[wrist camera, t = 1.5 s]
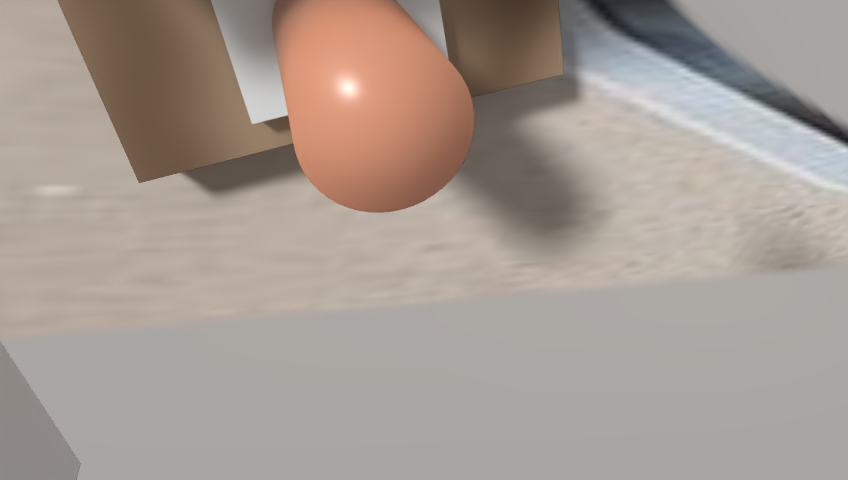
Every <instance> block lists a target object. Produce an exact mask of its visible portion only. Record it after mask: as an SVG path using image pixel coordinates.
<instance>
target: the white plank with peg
mask: <svg viewBox="0 0 848 480" xmlns="http://www.w3.org/2000/svg"><path fill="white" fill-rule="evenodd" d="M211 2H212V5H213V8H214V11H215V14H216V17H217V20H218V23H219V26H220V29H221V32H222V35H223V38H224V41H225V44H226V47H227V50H228V53H229V56H230V59H231V62H232V65H233V68H234V71H235V74H236V77H237V80H238V83H239V87H240V90H241V93H242V96H243V99H244V102H245V105H246V108H247V111H248V114H249V117H250V120H251V123H252V124H255V123H259V122H263V121H267V120H271V119H275V118H279V117H283V116H287V115H288V117H289V123H290V128H291V133H292V139H293V144H294V148H295V153H296V156H297V159H298V161H299V164H300V166H301V168H302V170H303V171H304V173H305V175H306V176H307V178H308V179H309V180H310V182H311V183H312V184H313V185H314V186H315V187H316V188H317V189H318V190H319V191H320V192H321V193H323V194H324V195H325V196H327V197H328V198H329V199H331V200H333V201H335V202H336V203H338V204H341V205H343V206H345V207H348V208H351V209H355V210H359V211H365V212H391V211H397V210H401V209H405V208H408V207H411V206H414V205H416V204H418V203H420V202H423V201H425V200H426V199H428V198H429V197H431V196H433V195H434V194H436V193H437V192H438V191H439V190H441V189H442V188H443V187H444V186H445V185H446V184H447V183H448V182H449V181H450V180H451V179H452V178H453V177H454V175H455V174H456V173H457V172H458V170H459V168H460V167H461V165H462V164H463V162H464V160H465V158H466V156H467V154H468V151H469V148H470V145H471V142H472V138H473V132H474V120H475V119H474V107H473V103H472V98H471V95H470V92H469V90H468V87H467V85H466V83H465V81H464V80H463V78H462V76H461V75H460V73H459V72H458V71H457V69H456V68H455V67H454V66H453V65H452V63H451V62H450V61H449V59H448V53H447V47H446V40H445V34H444V28H443V22H442V15H441V9H440V3H439V0H211Z"/></svg>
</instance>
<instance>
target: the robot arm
mask: <svg viewBox="0 0 848 480" xmlns="http://www.w3.org/2000/svg"><path fill="white" fill-rule="evenodd" d="M79 468H80V462H79V460H78V459H77V457H76V456H75V454H74V453H73V451H72V450H71V448H70V447H69V445H68V444H67V442H66V441H65V439H64V437H63V436H62V434H61V433H60V431H59V430H58V428H57V427H56V426H55V424H54V423H53V421H52V419H51V418H50V416H49V415H48V413H47V411H46V410H45V408H44V407H43V405H42V404H41V402H40V401H39V399H38V398H37V396H36V395H35V393H34V392H33V390H32V389H31V387H30V386H29V384H28V383H27V381H26V380H25V378H24V376H23V375H22V373H21V372H20V370H19V369H18V367H17V366H16V364H15V363H14V361H13V360H12V358H11V357H10V355H9V354H8V353H7V351H6V349H5V347H4V346H3V344H2V343H1V341H0V480H77V476H78V472H79Z"/></svg>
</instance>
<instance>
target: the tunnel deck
mask: <svg viewBox="0 0 848 480" xmlns="http://www.w3.org/2000/svg"><path fill="white" fill-rule="evenodd" d="M58 3H59V5H60V7H61V9H62V12H63V14H64V16H65V18H66V21H67V23H68V25H69V27H70V29H71V32H72V34H73V36H74V38H75V41H76V43H77V45H78V47H79V50H80V52H81V54H82V56H83V59H84V61H85V63H86V65H87V68H88V70H89V72H90V74H91V76H92V79H93V81H94V83H95V85H96V88H97V90H98V92H99V94H100V97H101V99H102V101H103V103H104V106H105V108H106V110H107V112H108V114H109V117H110V119H111V121H112V123H113V126H114V128H115V130H116V132H117V135H118V137H119V139H120V141H121V144H122V146H123V148H124V150H125V153H126V155H127V157H128V159H129V161H130V164H131V166H132V168H133V170H134V173H135V175H136V177H137V179H138V182H139V183H141V182H145V181H149V180H153V179H157V178H161V177H165V176H169V175H173V174H176V173H180V172H184V171H188V170H192V169H196V168H200V167H204V166H207V165H211V164H215V163H219V162H223V161H227V160H231V159H235V158H239V157H242V156H246V155H250V154H254V153H258V152H262V151H266V150H270V149H273V148H277V147H281V146H285V145H289V144H293V139H292V133H291V128H290V123H289V117H288V115H287V116H283V117H279V118H275V119H271V120H267V121H263V122H259V123H255V124H252V123H251V120H250V117H249V114H248V111H247V108H246V105H245V102H244V99H243V96H242V93H241V90H240V87H239V83H238V80H237V77H236V74H235V71H234V68H233V65H232V62H231V59H230V56H229V53H228V50H227V47H226V44H225V41H224V38H223V35H222V32H221V29H220V26H219V23H218V20H217V17H216V14H215V11H214V8H213V5H212V2H211V0H58ZM439 3H440V9H441V15H442V22H443V28H444V34H445V40H446V47H447V53H448V59H449V61H450V62H451V63H452V65H453V66H454V67H455V68H456V69H457V71H458V72H459V73H460V75H461V76H462V78H463V80H464V81H465V83H466V85H467V87H468V90H469V92H470V95H471V97H475V96H479V95H483V94H487V93H491V92H495V91H499V90H503V89H506V88H510V87H514V86H518V85H522V84H526V83H530V82H534V81H537V80H541V79H545V78H549V77H553V76H557V75H561V74H563V60H562V45H561V31H560V17H559V2H558V0H439Z"/></svg>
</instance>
